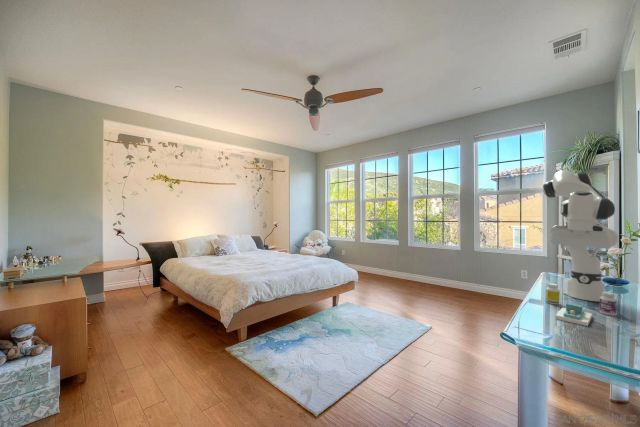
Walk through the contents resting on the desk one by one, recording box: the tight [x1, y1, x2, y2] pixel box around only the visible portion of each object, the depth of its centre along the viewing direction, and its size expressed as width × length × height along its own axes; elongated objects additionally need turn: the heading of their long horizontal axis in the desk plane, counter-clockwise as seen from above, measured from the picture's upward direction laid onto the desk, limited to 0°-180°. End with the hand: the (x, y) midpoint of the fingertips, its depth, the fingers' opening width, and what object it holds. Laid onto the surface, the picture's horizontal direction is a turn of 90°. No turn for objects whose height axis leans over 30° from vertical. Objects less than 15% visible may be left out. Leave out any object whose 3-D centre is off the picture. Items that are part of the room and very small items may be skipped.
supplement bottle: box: [545, 282, 561, 305], centre depth 138 cm, size 5×5×10 cm
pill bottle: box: [598, 291, 617, 317], centre depth 124 cm, size 5×5×10 cm
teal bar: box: [564, 302, 585, 320], centre depth 118 cm, size 14×5×4 cm, turn 129°
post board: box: [555, 303, 593, 327], centre depth 118 cm, size 16×10×5 cm, turn 129°
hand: (579, 255), depth 125 cm, fingers open, 8 cm apart
